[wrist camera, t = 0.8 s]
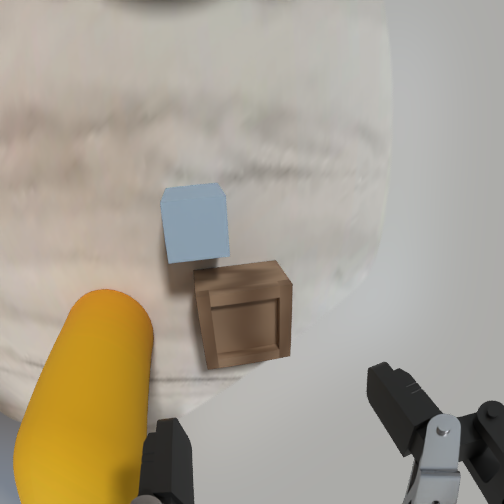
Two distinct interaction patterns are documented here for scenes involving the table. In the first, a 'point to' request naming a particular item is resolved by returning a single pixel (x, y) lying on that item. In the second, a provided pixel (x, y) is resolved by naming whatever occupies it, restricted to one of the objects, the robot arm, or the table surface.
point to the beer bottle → (89, 407)
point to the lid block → (195, 222)
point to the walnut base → (244, 313)
